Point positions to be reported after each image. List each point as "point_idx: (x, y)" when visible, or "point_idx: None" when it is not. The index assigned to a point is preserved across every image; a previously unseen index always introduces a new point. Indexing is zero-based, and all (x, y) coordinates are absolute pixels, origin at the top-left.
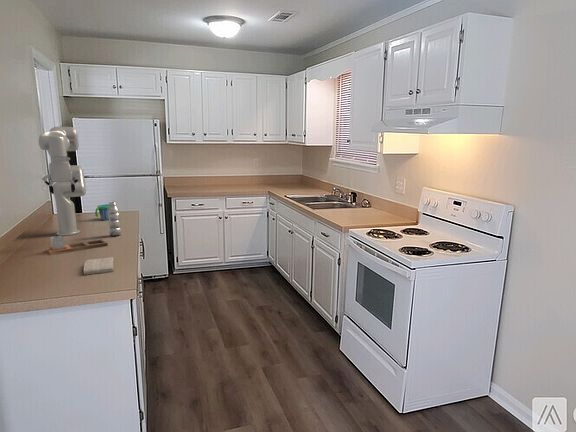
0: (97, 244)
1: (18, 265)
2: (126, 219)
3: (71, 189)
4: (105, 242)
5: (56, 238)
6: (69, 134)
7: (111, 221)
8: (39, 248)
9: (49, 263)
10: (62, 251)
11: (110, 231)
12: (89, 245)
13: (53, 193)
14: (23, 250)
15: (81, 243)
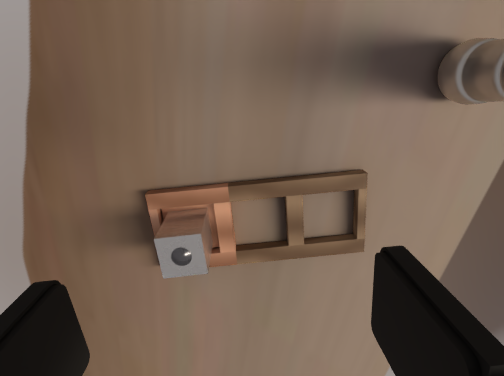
0: (326, 253)
1: None
2: None
3: (394, 290)
4: (360, 239)
5: (180, 276)
6: None
7: (502, 91)
8: (119, 133)
9: (164, 351)
10: None
11: (448, 85)
12: (298, 252)
13: (85, 357)
14: (57, 131)
15: (280, 196)
